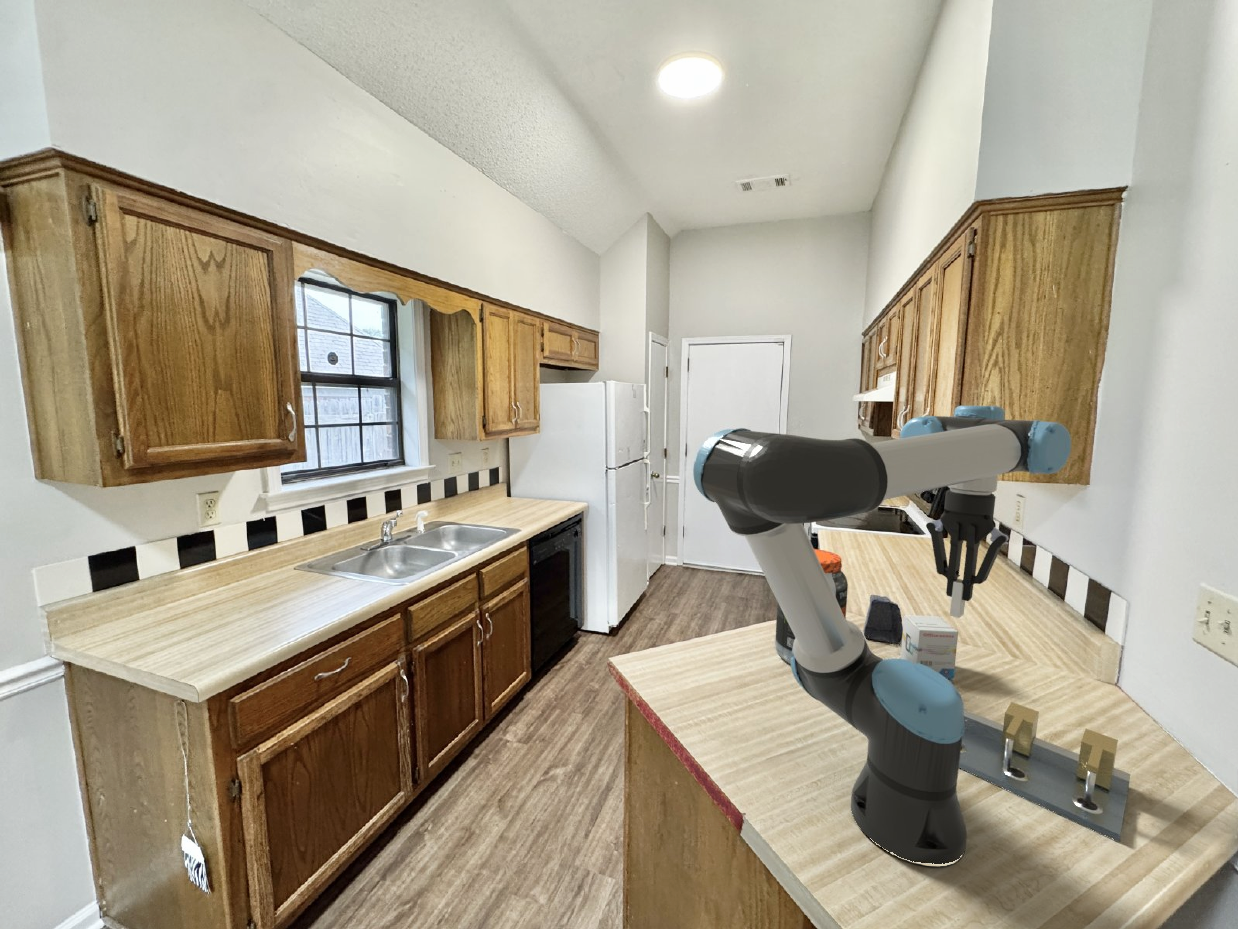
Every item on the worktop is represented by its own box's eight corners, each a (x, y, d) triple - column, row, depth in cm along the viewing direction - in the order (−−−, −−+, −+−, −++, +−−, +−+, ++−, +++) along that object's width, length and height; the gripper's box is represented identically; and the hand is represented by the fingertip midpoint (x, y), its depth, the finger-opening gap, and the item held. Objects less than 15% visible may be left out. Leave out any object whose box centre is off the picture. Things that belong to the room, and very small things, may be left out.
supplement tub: (850, 676, 119) (858, 567, 115) (779, 670, 121) (785, 563, 118) (833, 644, 134) (839, 547, 131) (770, 639, 137) (775, 544, 133)
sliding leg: (1020, 774, 86) (1024, 739, 85) (991, 761, 89) (995, 727, 88) (1034, 743, 94) (1038, 711, 93) (1007, 733, 97) (1011, 701, 96)
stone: (898, 654, 133) (858, 637, 136) (890, 644, 142) (852, 627, 145) (916, 611, 132) (875, 594, 135) (906, 604, 142) (868, 588, 145)
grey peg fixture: (1119, 842, 75) (1126, 792, 74) (921, 751, 94) (925, 710, 93) (1128, 787, 86) (1135, 743, 85) (949, 715, 105) (953, 678, 104)
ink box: (936, 661, 126) (940, 615, 125) (954, 680, 118) (959, 631, 116) (899, 659, 127) (903, 613, 126) (915, 677, 119) (919, 629, 117)
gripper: (1020, 494, 92) (1004, 621, 95) (938, 484, 102) (926, 599, 105) (1008, 499, 87) (992, 632, 90) (923, 487, 97) (911, 608, 100)
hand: (956, 614), depth 97 cm, fingers closed
